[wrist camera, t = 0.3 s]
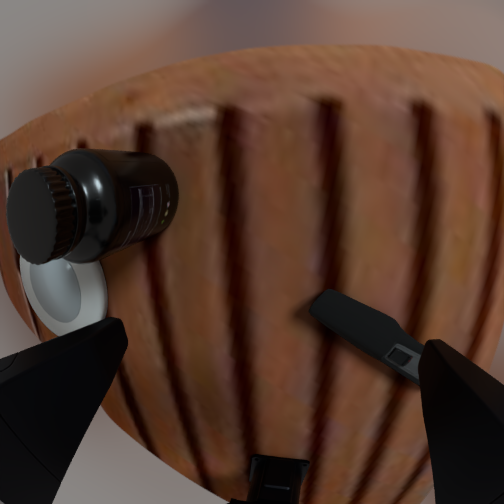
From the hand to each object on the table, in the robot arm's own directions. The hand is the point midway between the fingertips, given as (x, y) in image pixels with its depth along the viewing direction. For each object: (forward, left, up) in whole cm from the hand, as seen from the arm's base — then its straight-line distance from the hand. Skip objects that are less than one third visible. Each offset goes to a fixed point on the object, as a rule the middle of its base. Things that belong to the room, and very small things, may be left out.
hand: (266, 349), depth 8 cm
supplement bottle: (+3, +12, -14) cm, 19 cm away
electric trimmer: (-7, -9, -15) cm, 19 cm away
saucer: (-6, +23, -14) cm, 28 cm away
